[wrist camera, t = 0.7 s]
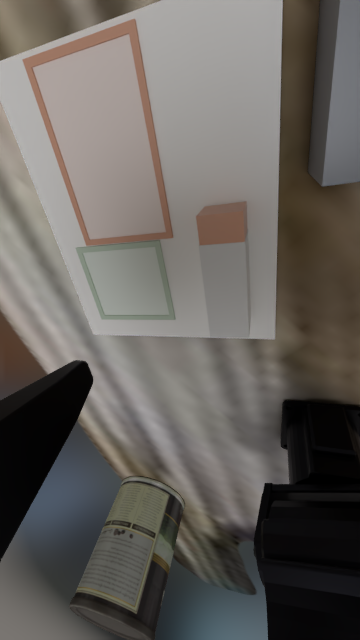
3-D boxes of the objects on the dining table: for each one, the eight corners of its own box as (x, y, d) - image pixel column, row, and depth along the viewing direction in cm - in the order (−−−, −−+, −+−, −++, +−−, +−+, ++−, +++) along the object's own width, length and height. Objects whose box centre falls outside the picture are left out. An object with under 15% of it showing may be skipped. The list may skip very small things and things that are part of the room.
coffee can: (199, 505, 40) (171, 651, 29) (160, 516, 46) (124, 640, 35) (143, 468, 38) (91, 608, 27) (110, 484, 44) (55, 604, 33)
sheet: (275, 336, 21) (275, 340, 21) (95, 332, 26) (92, 335, 25) (283, -41, 11) (283, -48, 11) (-8, 67, 16) (-16, 65, 16)
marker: (251, 316, 20) (249, 337, 18) (216, 316, 21) (210, 336, 19) (247, 201, 16) (244, 210, 14) (204, 206, 17) (194, 216, 15)
